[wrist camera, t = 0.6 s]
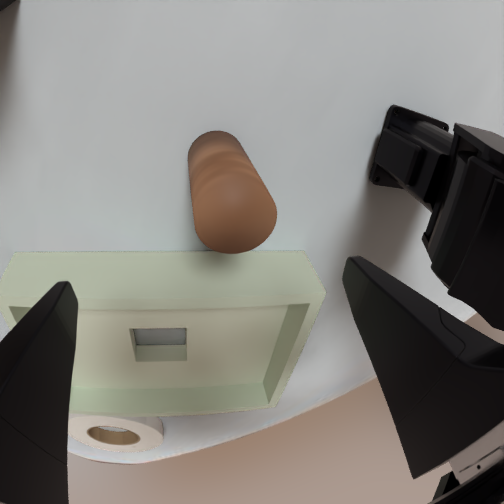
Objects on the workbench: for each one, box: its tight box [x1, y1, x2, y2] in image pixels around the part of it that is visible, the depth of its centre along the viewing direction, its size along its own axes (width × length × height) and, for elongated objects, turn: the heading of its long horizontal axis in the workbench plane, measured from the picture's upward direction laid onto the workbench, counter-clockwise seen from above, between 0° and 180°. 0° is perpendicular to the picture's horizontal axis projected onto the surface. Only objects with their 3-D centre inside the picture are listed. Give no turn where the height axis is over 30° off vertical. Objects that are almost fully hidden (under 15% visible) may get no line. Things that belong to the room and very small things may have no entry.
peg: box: [188, 131, 277, 254], centre depth 17 cm, size 4×4×8 cm
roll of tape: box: [68, 413, 164, 452], centre depth 38 cm, size 16×15×3 cm
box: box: [0, 251, 327, 417], centre depth 26 cm, size 24×18×5 cm
